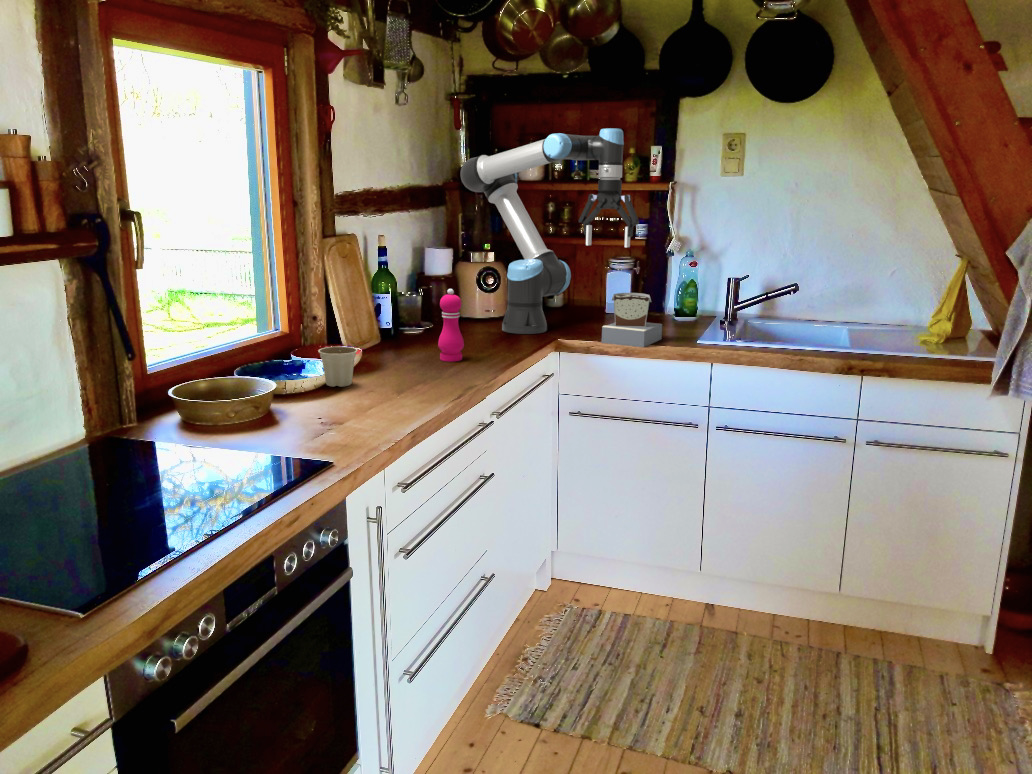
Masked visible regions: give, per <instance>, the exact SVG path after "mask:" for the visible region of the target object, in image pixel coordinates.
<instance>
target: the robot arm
mask: <svg viewBox="0 0 1032 774" xmlns="http://www.w3.org/2000/svg"><path fill="white" fill-rule="evenodd" d="M624 145H625V142H624V131H623V130H622V128H611V127H610V128H608V127H607V128H601V129H600V131H599V134H598V135H578V134H568V133H567V134H566V133H560V132H558V133H551V134H549V135H548V136H547V137H546V138H544V139H541V140H537V141H535V142H534V141H533V142H531V143H528V144H525V145H522V146H518V147H516V148H512V149H509V150H505V151H502V152H499V153H496V154H493V155H492V154H491V155H490V156H489V155H486V154H481V155H479V156H476V157H471V158H469V159H467V160H466V161H464V163H463V165H462V166H461V168H460V180H461V183H462V184H463V185H464V187H465V188H466V189H468V190H469V191H471V192H475V193H484V194H485V197H486V199H487V200H488V202H489V203H491V204H494V205H495V206H496V208H497V210H498V213H500V215H501V218H502V221H504V223H505V225H506V227H507V229H508V231H509V232H510V234H511V236H512V238H513V240H514V242H515V244H516V246H517V248H518V250H519V251H520V254H521V255H522V258H523V259H518V260H513V261H512V262H510V263H509V265H508V268H507V274H506V277H507V309H506V310H505V314H504V317H503V320H502V323H501V330H502V331H503V332H505V333H509V334H516V335H521V334H522V335H525V334H526V335H530V334H531V335H533V334H536V335H537V334H542V333H545V332H547V331H548V324H547V320H546V316H545V313H544V311H543V297H549V296H556V295H559V294H561V293H563V292H564V291H566V289H567V288H568V287H569V285H570V283H571V278H572V274H571V273H572V272H571V269H570V267H569V265H568V264H567V262H565V261H563V260H561V259H558V257H557V256H556V254H555V252H554V250H551V249H548V248H547V246H546V245H545V242H544V241H543V238H542V237H541V235H540V233H539V231H538V229H537V227H536V226H535V224H534V222H533V221H532V219H531V217H530V215H529V213H528V211H527V210H526V208H525V205H524V204H523V202H522V199H521V198H520V196H519V194H518V193H517V190H518V188H519V186H518V179H517V178H518V173H520V172H524V171H527V170H528V171H529V170H530V169H533V168H538V167H540V166H545V165H547V164H551V163H554V162H555V163H556V162H558V161H563V160H572V161H598V178H599V179H598V182H597V183H598V184H597V185H598V186H597V191H598V192H597V194H594V193H589V194H588V197H587V202H586V204H585V205H584V208H583V210H582V213H581V214H580V217H579V218H578V223H581V224H582V225H583V234H584V236H585V246H592V236H593V235H592V233H593V232H592V231H593V225H592V224H591V223H592V222H593V221H594V219H595V218H596V217H597V215H599V213H600V212H601V211H602V210H603V209H604V210H607V209H610V210H616V211H617V213H618V214H619V216H620V217H621V219H623V221H624V223H625V224H626V225H627V226H625V227H624V248H630V247H631V238H632V237H633V236H634V227H635V226H637V225H639V224H640V220H639V218H638V215H637V213H636V210H635V208H634V205H633V203H632V196H631V195H630V194H625V195H622V188H623V186H622V183H623V181H622V179H621V178H623V160H624V159H623V155H624ZM596 200H597V202H598V203H597V204H596V205H595V208H593V205H594V203H595V202H596ZM622 201H623V203H624V204H625V207H626V210H627V212H628V213H627V212H626V211H625V209H624V208H623V205H622V204H621V202H622ZM592 208H593V210H592V211H591V209H592ZM590 211H591V213H590Z"/></svg>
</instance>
